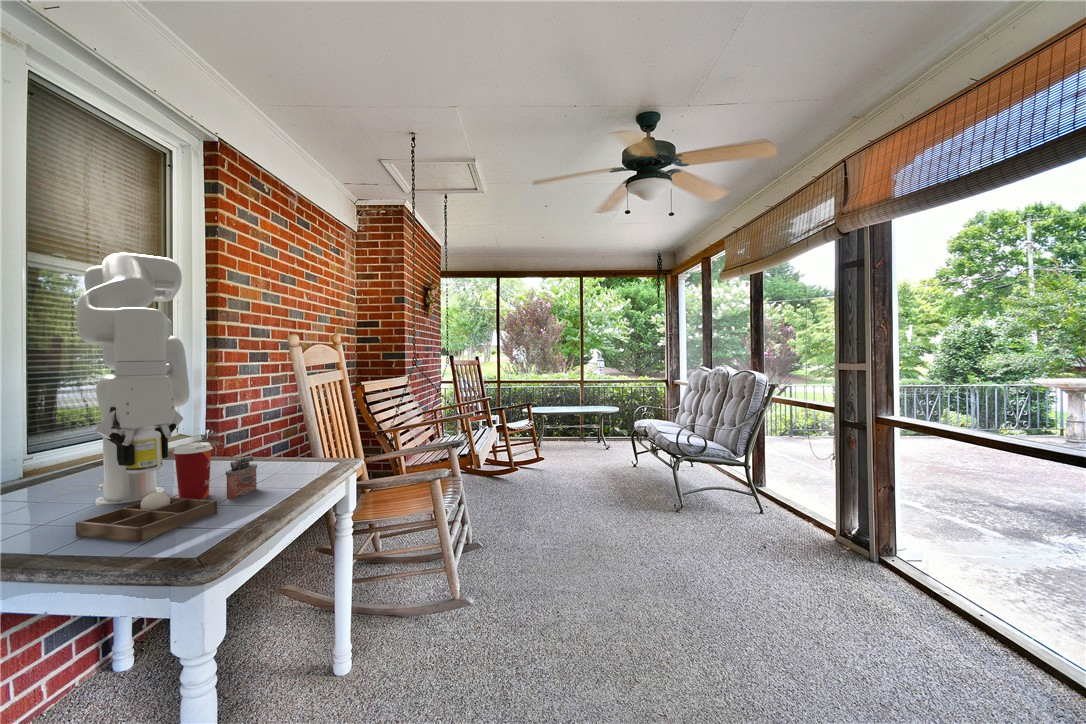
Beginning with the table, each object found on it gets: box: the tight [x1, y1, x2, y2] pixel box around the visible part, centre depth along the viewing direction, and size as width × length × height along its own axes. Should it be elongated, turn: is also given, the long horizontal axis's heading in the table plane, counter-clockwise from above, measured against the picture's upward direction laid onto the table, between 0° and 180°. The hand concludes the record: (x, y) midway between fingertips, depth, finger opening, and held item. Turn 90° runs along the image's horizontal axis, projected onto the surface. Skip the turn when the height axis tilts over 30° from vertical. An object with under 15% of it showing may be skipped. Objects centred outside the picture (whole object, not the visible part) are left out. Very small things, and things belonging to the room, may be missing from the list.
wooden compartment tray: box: [75, 496, 218, 543], centre depth 93 cm, size 16×16×4 cm
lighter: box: [225, 455, 258, 499], centre depth 112 cm, size 8×3×10 cm, turn 168°
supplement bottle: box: [126, 425, 163, 474], centre depth 88 cm, size 5×5×10 cm
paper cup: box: [172, 441, 213, 500], centre depth 109 cm, size 8×8×14 cm
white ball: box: [140, 492, 171, 510], centre depth 97 cm, size 5×5×5 cm
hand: (143, 460), depth 88 cm, fingers closed on supplement bottle, 5 cm apart
